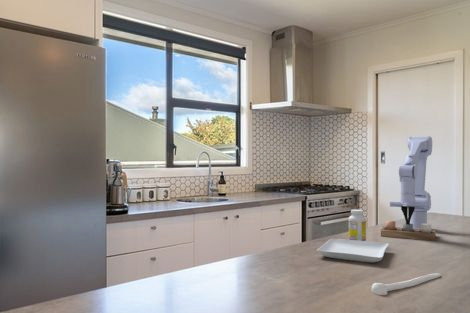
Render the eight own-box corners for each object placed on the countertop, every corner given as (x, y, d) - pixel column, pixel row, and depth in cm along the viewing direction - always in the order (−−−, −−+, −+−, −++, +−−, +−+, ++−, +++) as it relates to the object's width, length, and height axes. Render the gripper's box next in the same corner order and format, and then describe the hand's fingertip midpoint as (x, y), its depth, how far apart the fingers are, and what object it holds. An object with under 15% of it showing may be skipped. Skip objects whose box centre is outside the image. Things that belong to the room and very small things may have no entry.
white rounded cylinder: (420, 231, 163) (420, 223, 163) (431, 232, 162) (431, 224, 162) (420, 233, 160) (420, 224, 160) (431, 234, 158) (431, 225, 158)
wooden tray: (383, 231, 173) (383, 226, 173) (434, 235, 164) (434, 230, 164) (380, 236, 163) (380, 230, 163) (435, 241, 154) (435, 234, 154)
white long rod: (429, 274, 112) (429, 264, 112) (443, 278, 109) (443, 268, 109) (367, 292, 97) (367, 281, 97) (381, 297, 94) (381, 286, 94)
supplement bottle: (363, 240, 155) (363, 209, 155) (367, 244, 149) (367, 211, 149) (347, 240, 156) (347, 208, 156) (350, 243, 149) (350, 211, 149)
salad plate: (315, 259, 128) (315, 249, 128) (330, 246, 147) (330, 237, 147) (382, 267, 118) (382, 257, 118) (389, 252, 137) (389, 243, 137)
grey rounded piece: (403, 230, 166) (403, 222, 166) (413, 231, 165) (413, 223, 165) (402, 232, 163) (402, 224, 163) (412, 233, 161) (412, 225, 161)
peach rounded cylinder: (386, 228, 170) (386, 220, 170) (395, 228, 168) (395, 221, 168) (385, 229, 166) (385, 221, 166) (395, 230, 164) (395, 222, 164)
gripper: (389, 192, 163) (389, 224, 163) (426, 194, 157) (426, 227, 157) (390, 191, 170) (390, 221, 170) (426, 192, 163) (426, 224, 163)
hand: (407, 224), depth 164 cm, fingers closed, pressing on grey rounded piece
